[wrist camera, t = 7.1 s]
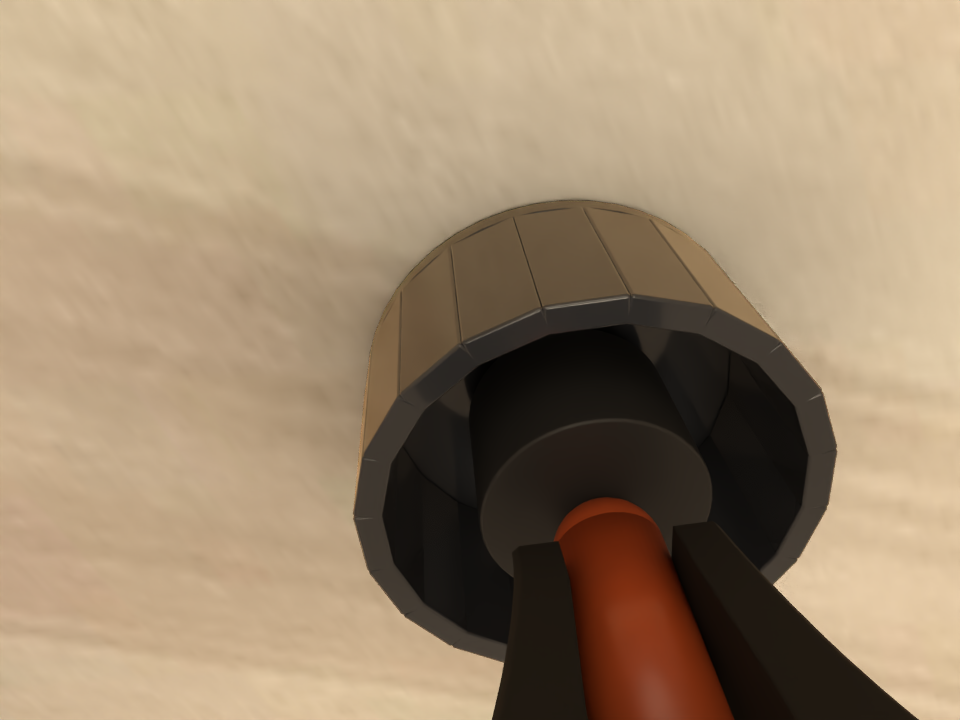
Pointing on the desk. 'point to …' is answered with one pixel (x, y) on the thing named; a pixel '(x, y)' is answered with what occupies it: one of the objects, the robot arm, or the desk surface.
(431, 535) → the dark grey round container
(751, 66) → the desk surface
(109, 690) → the desk surface
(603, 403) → the brush
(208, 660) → the desk surface
